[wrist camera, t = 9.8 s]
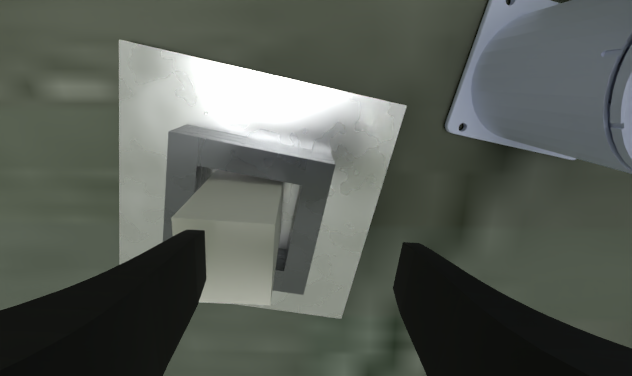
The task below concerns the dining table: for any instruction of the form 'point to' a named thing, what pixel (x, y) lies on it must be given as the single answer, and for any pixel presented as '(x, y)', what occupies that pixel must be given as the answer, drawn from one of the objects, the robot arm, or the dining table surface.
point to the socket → (254, 162)
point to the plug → (236, 235)
